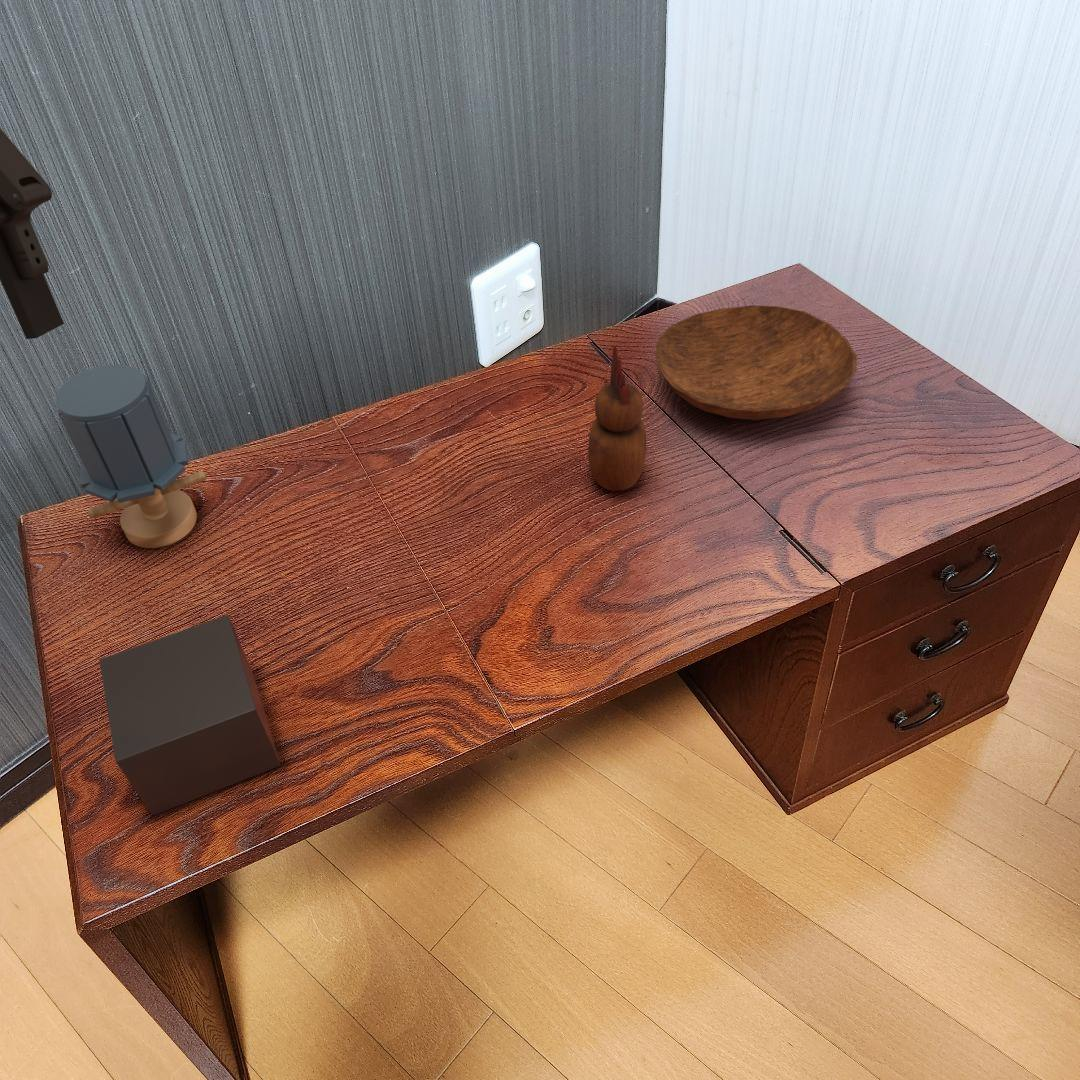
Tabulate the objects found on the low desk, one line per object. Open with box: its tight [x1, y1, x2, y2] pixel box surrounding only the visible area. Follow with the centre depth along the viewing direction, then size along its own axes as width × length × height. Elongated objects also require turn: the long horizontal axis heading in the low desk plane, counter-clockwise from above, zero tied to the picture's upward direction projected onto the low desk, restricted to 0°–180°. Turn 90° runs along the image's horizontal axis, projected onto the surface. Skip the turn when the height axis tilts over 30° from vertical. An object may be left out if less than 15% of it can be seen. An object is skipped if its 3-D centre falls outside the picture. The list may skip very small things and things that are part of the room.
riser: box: [99, 614, 282, 817], centre depth 73 cm, size 10×10×8 cm
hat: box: [55, 363, 189, 503], centre depth 85 cm, size 10×10×9 cm
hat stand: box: [87, 471, 208, 549], centre depth 88 cm, size 11×7×16 cm, turn 118°
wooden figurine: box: [587, 344, 647, 492], centre depth 91 cm, size 7×6×15 cm
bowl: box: [654, 304, 858, 421], centre depth 104 cm, size 20×22×5 cm
